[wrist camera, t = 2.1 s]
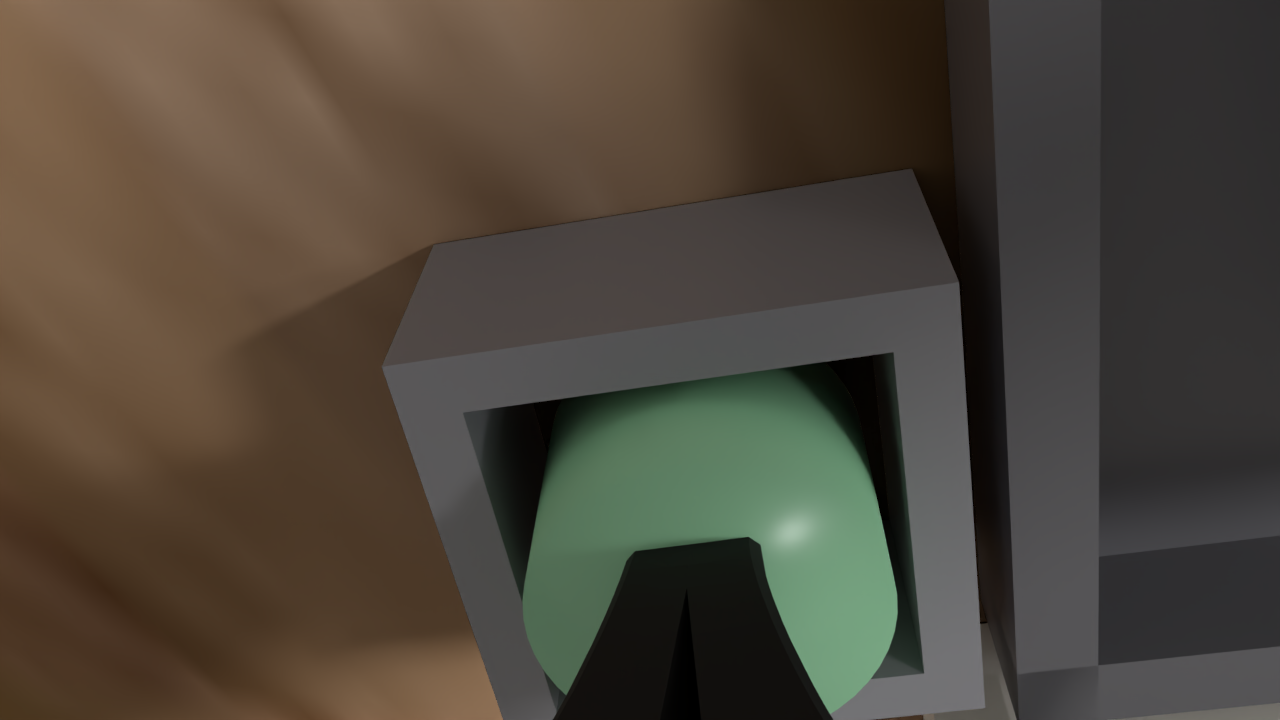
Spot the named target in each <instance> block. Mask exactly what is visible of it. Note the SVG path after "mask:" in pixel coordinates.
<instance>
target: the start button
mask: <svg viewBox="0 0 1280 720" xmlns="http://www.w3.org/2000/svg"><path fill="white" fill-rule="evenodd" d="M744 537H750V538H751V539H753V540H754V541H756V542H757V543H759V544H760V545H761V550H762V556H763V561H764V567H765V573H766V577H767V581H768V584H769V587H770V590H771V593H772V596H773V599H774V601H775V604H776V606H777V609H778V611H779V614H780V616H781V619H782V622H783V624H784V626H785V628H786V631H787V633H788V635H789V637H790V640H791V642H792V644H793V646H794V648H795V650H796V652H797V654H798V656H799V658H800V660H801V662H802V664H803V666H804V668H805V670H806V671H807V673H808V675H809V677H810V679H811V681H812V683H813V685H814V687H815V689H816V691H817V692H818V694H819V696H820V698H821V700H822V701H823V703H824V705H825V707H826V708H827V710H828V712H829V713H830V714H831V713H833V712H834V711H836V710H838V709H839V708H840V707H841V706H843V705H844V704H845V703H847V702H848V701H849V700H850V699H852V698H853V697H854V696H855V695H856V694H857V693H858V692H859V691H860V690H861V689H862V688H863V687H864V686H865V685H866V684H867V683H868V682H869V680H870V679H871V678H872V676H873V675H874V674H875V672H876V671H877V670H878V668H879V667H880V665H881V663H882V661H883V659H884V658H885V656H886V654H887V652H888V650H889V647H890V644H891V641H892V638H893V635H894V632H895V627H896V620H897V614H898V609H897V591H896V586H895V581H894V576H893V571H892V566H891V562H890V557H889V552H888V548H887V543H886V539H885V534H884V529H883V525H882V520H881V515H880V511H879V506H878V501H877V497H876V492H875V487H874V483H873V478H872V473H871V469H870V464H869V459H868V455H867V450H866V445H865V441H864V436H863V431H862V427H861V422H860V417H859V414H858V412H857V409H856V406H855V404H854V401H853V399H852V397H851V395H850V394H849V392H848V390H847V388H846V386H845V385H844V383H843V382H842V381H841V379H840V378H839V377H838V376H837V374H836V373H835V372H834V370H833V369H832V368H831V367H830V366H829V365H828V364H827V363H825V362H820V363H813V364H806V365H799V366H792V367H784V368H777V369H770V370H763V371H756V372H749V373H742V374H734V375H727V376H720V377H713V378H706V379H699V380H692V381H685V382H677V383H670V384H663V385H656V386H649V387H642V388H635V389H628V390H620V391H613V392H606V393H599V394H592V395H585V396H578V397H571V398H563V399H562V400H561V402H560V404H559V406H558V408H557V412H556V415H555V418H554V422H553V426H552V431H551V437H550V443H549V448H548V454H547V460H546V465H545V471H544V477H543V482H542V488H541V493H540V499H539V505H538V510H537V516H536V522H535V527H534V533H533V539H532V544H531V550H530V555H529V561H528V567H527V572H526V578H525V584H524V592H523V601H522V603H523V620H524V624H525V629H526V633H527V638H528V640H529V642H530V645H531V647H532V650H533V652H534V655H535V656H536V658H537V660H538V661H539V663H540V665H541V666H542V668H543V670H544V671H545V673H546V674H547V675H548V676H549V677H550V679H551V680H552V681H553V682H554V684H555V685H556V686H557V687H558V688H559V689H560V690H561V691H562V692H563V693H564V694H565V695H567V693H568V691H569V689H570V687H571V685H572V683H573V681H574V679H575V677H576V675H577V673H578V671H579V669H580V667H581V665H582V663H583V661H584V659H585V657H586V655H587V653H588V651H589V649H590V647H591V645H592V643H593V641H594V639H595V637H596V634H597V632H598V630H599V628H600V626H601V623H602V621H603V619H604V617H605V614H606V612H607V610H608V607H609V605H610V603H611V600H612V598H613V595H614V593H615V590H616V588H617V585H618V583H619V580H620V578H621V575H622V572H623V569H624V566H625V564H626V561H627V560H628V558H629V557H630V556H631V555H632V554H633V553H634V552H635V551H640V550H648V549H656V548H664V547H672V546H680V545H689V544H697V543H705V542H713V541H720V540H728V539H736V538H744Z"/></svg>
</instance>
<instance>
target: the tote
mask: <svg viewBox="0 0 1280 720" xmlns="http://www.w3.org/2000/svg"><path fill="white" fill-rule="evenodd" d="M944 5H945V22H946V38H947V55H948V72H949V88H950V105H951V121H952V138H953V154H954V171H955V187H956V204H957V220H958V237H959V253H960V270H961V286H962V303H963V319H964V336H965V352H966V369H967V385H968V402H969V418H970V435H971V451H972V468H973V484H974V501H975V517H976V534H977V550H978V567H979V583H980V599H981V602H982V606H983V609H984V612H985V616H986V619H987V622H988V626H989V629H990V632H991V636H992V639H993V642H994V646H995V649H996V652H997V656H998V659H999V662H1000V666H1001V669H1002V672H1003V676H1004V679H1005V682H1006V686H1007V689H1008V692H1009V696H1010V699H1011V702H1012V706H1013V709H1014V712H1015V716H1016V719H1017V720H1114V719H1124V718H1134V717H1144V716H1154V715H1164V714H1174V713H1184V712H1194V711H1204V710H1214V709H1224V708H1234V707H1244V706H1254V705H1264V704H1274V703H1280V0H944Z"/></svg>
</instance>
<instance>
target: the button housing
mask: <svg viewBox="0 0 1280 720" xmlns="http://www.w3.org/2000/svg"><path fill="white" fill-rule="evenodd" d="M870 355H872V357H873V366H874V376H875V385H876V395H877V404H878V414H879V423H880V433H881V442H882V452H883V461H884V470H885V480H886V489H887V499H888V508H889V518H890V520H883V521H882V525H883V529H884V534H885V539H886V543H887V548H888V552H889V557H890V562H891V566H892V571H893V576H894V581H895V586H896V591H897V609H898V614H897V620H896V627H895V632H894V635H893V638H892V641H891V644H890V647H889V650H888V652H887V654H886V656H885V658H884V659H883V661H882V663H881V665H880V667H879V668H878V670H877V671H876V672H875V674H874V675H873V676H872V678H871V679H870V680H869V682H868V683H867V684H866V685H865V686H864V687H863V688H862V689H861V690H860V691H859V692H858V693H857V694H856V695H855V696H854V697H853V698H852V699H850V700H849V701H848V702H847V703H845V704H844V705H843V706H841V707H840V708H839V709H838V710H836V711H834V712H833V713H831V714H830V715H831V717H832V718H833V720H874V719H884V718H894V717H903V716H913V715H923V714H933V713H942V712H952V711H962V710H972V709H981V708H985V696H984V680H983V664H982V647H981V631H980V615H979V599H978V583H977V566H976V550H975V534H974V518H973V501H972V485H971V469H970V453H969V437H968V420H967V404H966V388H965V372H964V355H963V339H962V323H961V307H960V291H959V281H958V279H957V276H956V274H955V271H954V269H953V267H952V264H951V262H950V259H949V257H948V254H947V252H946V250H945V247H944V245H943V242H942V240H941V238H940V235H939V233H938V230H937V228H936V226H935V223H934V221H933V218H932V216H931V213H930V211H929V209H928V206H927V204H926V201H925V199H924V197H923V194H922V192H921V189H920V187H919V185H918V182H917V180H916V177H915V175H914V172H913V170H912V169H906V170H900V171H893V172H887V173H881V174H875V175H868V176H862V177H856V178H849V179H843V180H837V181H830V182H824V183H818V184H812V185H805V186H799V187H793V188H786V189H780V190H774V191H768V192H761V193H755V194H749V195H742V196H736V197H730V198H724V199H717V200H711V201H705V202H698V203H692V204H686V205H680V206H673V207H667V208H661V209H654V210H648V211H642V212H635V213H629V214H623V215H617V216H610V217H604V218H598V219H591V220H585V221H579V222H573V223H566V224H560V225H554V226H547V227H541V228H535V229H529V230H522V231H516V232H510V233H503V234H497V235H491V236H485V237H478V238H472V239H466V240H459V241H453V242H447V243H440V244H434V245H433V247H432V250H431V252H430V255H429V257H428V259H427V262H426V264H425V266H424V269H423V271H422V273H421V276H420V278H419V280H418V283H417V285H416V287H415V290H414V292H413V294H412V297H411V299H410V301H409V304H408V306H407V308H406V311H405V313H404V315H403V318H402V320H401V323H400V325H399V327H398V330H397V332H396V334H395V337H394V339H393V341H392V344H391V346H390V348H389V351H388V353H387V355H386V358H385V360H384V362H383V365H382V369H383V372H384V375H385V378H386V381H387V384H388V387H389V390H390V393H391V395H392V398H393V401H394V404H395V407H396V410H397V413H398V416H399V419H400V422H401V424H402V427H403V430H404V433H405V436H406V439H407V442H408V445H409V448H410V451H411V453H412V456H413V459H414V462H415V465H416V468H417V471H418V474H419V477H420V479H421V482H422V485H423V488H424V491H425V494H426V497H427V500H428V503H429V506H430V508H431V511H432V514H433V517H434V520H435V523H436V526H437V529H438V532H439V535H440V537H441V540H442V543H443V546H444V549H445V552H446V555H447V558H448V561H449V564H450V566H451V569H452V572H453V575H454V578H455V581H456V584H457V587H458V590H459V593H460V595H461V598H462V601H463V604H464V607H465V610H466V613H467V616H468V619H469V622H470V624H471V627H472V630H473V633H474V636H475V639H476V642H477V645H478V648H479V650H480V653H481V656H482V659H483V662H484V665H485V668H486V671H487V674H488V677H489V679H490V682H491V685H492V688H493V691H494V694H495V697H496V700H497V703H498V706H499V708H500V711H501V714H502V717H503V720H553V718H554V717H555V715H556V713H557V712H558V710H559V708H560V706H561V704H562V703H563V701H564V699H565V697H566V695H565V694H564V693H563V692H562V691H561V690H560V689H559V688H558V687H557V686H556V685H555V684H554V682H553V681H552V680H551V679H550V677H549V676H548V675H547V674H546V673H545V671H544V670H543V668H542V666H541V665H540V663H539V661H538V660H537V658H536V656H535V655H534V652H533V650H532V647H531V645H530V642H529V640H528V638H527V633H526V629H525V624H524V620H523V603H522V601H523V592H524V584H525V578H526V572H527V567H528V561H529V555H530V550H531V544H532V539H533V533H534V527H535V522H536V516H537V510H538V505H539V499H540V493H541V488H542V482H543V477H544V471H545V465H546V460H547V451H546V448H545V444H544V440H543V437H542V433H541V430H540V426H539V422H538V419H537V415H536V411H535V408H534V404H533V403H535V402H542V401H549V400H556V399H563V398H571V397H578V396H585V395H592V394H599V393H606V392H613V391H620V390H628V389H635V388H642V387H649V386H656V385H663V384H670V383H677V382H685V381H692V380H699V379H706V378H713V377H720V376H727V375H734V374H742V373H749V372H756V371H763V370H770V369H777V368H784V367H792V366H799V365H806V364H813V363H820V362H827V361H834V360H841V359H849V358H856V357H863V356H870Z"/></svg>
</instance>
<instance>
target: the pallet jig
mask: <svg viewBox="0 0 1280 720" xmlns="http://www.w3.org/2000/svg"><path fill="white" fill-rule="evenodd" d="M980 631H981V647H982V664H983V680H984V696H985V708H981V709H972V710H962V711H952V712H942V713H933V714H923V718H924V720H1017V719H1016V716H1015V712H1014V709H1013V706H1012V702H1011V699H1010V696H1009V692H1008V689H1007V686H1006V682H1005V679H1004V676H1003V672H1002V669H1001V666H1000V662H999V659H998V656H997V652H996V649H995V646H994V642H993V639H992V636H991V632H990V629H989V626H988V623H985V624H980ZM1114 720H1280V703H1274V704H1264V705H1254V706H1244V707H1234V708H1224V709H1214V710H1204V711H1194V712H1184V713H1174V714H1164V715H1154V716H1144V717H1134V718H1124V719H1114Z"/></svg>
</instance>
